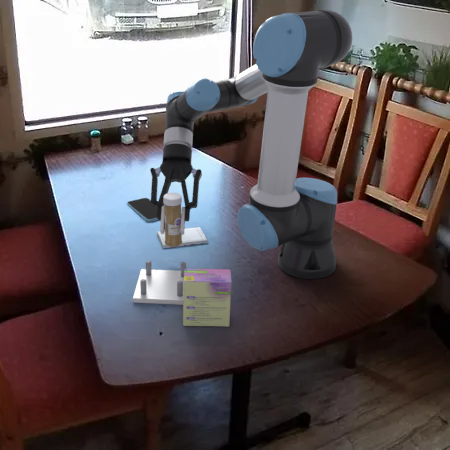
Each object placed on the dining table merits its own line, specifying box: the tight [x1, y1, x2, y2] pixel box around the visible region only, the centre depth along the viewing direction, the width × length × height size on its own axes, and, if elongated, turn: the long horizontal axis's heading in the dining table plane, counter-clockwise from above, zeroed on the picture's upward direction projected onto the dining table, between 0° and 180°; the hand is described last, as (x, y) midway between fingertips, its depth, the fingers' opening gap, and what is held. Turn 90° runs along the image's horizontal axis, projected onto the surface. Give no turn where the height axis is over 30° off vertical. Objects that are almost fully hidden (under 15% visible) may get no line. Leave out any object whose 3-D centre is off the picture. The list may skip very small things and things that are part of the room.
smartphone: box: [126, 197, 159, 223], centre depth 194 cm, size 7×1×15 cm
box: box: [182, 268, 232, 328], centre depth 143 cm, size 10×6×12 cm, turn 92°
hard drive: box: [156, 226, 208, 249], centre depth 179 cm, size 2×8×12 cm
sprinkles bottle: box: [163, 192, 183, 248], centre depth 163 cm, size 5×5×13 cm
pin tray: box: [132, 260, 187, 306], centre depth 155 cm, size 13×13×5 cm
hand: (172, 232), depth 162 cm, fingers closed on sprinkles bottle, 4 cm apart
